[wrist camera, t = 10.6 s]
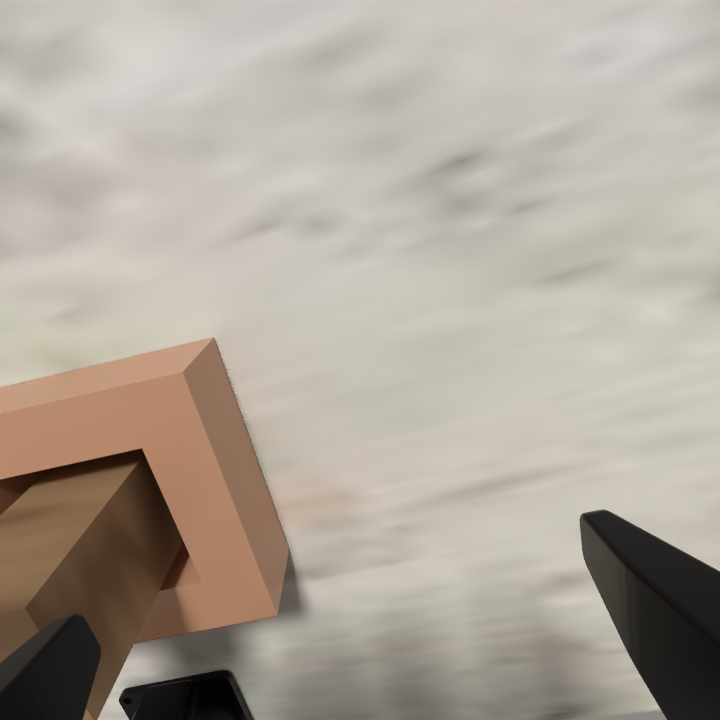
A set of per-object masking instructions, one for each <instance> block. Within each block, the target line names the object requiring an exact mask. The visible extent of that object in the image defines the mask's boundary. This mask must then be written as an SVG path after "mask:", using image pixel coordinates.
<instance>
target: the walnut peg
mask: <svg viewBox="0 0 720 720" xmlns="http://www.w3.org/2000/svg"><path fill="white" fill-rule="evenodd" d="M182 542H183V539H182V537H181V535H180V532H179V530H178V528H177V526H176V523H175V521H174V519H173V517H172V514H171V512H170V510H169V508H168V505H167V503H166V501H165V499H164V496H163V494H162V492H161V490H160V487H159V485H158V483H157V481H156V479H155V476H154V474H153V472H152V470H151V467H150V465H149V463H148V461H147V458H146V456H145V454H144V452H143V449H142V448H141V449H136V450H132V451H127V452H123V453H118V454H114V455H109V456H105V457H100V458H95V459H91V460H86V461H82V462H77V463H73V464H68V465H64V466H59V467H55V468H51V469H50V470H49V471H47V472H46V473H45V474H44V475H43V476H42V477H41V478H40V479H39V480H38V481H37V482H36V483H35V484H33V485H32V486H31V487H30V488H29V489H28V490H27V491H26V492H25V493H24V494H23V495H22V496H21V497H20V498H18V499H17V500H16V501H15V502H14V503H13V504H12V505H11V506H10V507H9V508H8V509H7V510H6V511H4V512H3V513H2V514H1V515H0V662H1V661H3V660H4V659H5V658H6V657H8V656H9V655H10V654H11V653H12V652H14V651H15V650H16V649H17V648H19V647H20V646H21V645H22V644H24V643H25V642H26V641H27V640H28V639H30V638H31V637H32V636H33V635H35V634H36V633H37V632H38V631H40V630H41V629H42V628H43V627H45V626H46V625H47V624H48V623H49V622H51V621H52V620H53V619H55V618H57V617H59V616H64V615H69V614H74V613H80V614H82V615H83V616H84V617H85V618H86V620H87V621H88V623H89V625H90V627H91V628H92V630H93V632H94V634H95V635H96V637H97V639H98V641H99V643H100V645H101V659H100V663H99V666H98V670H97V673H96V677H95V680H94V683H93V687H92V690H91V694H90V697H89V700H88V704H87V707H86V711H85V714H84V717H83V720H97V719H98V717H99V715H100V713H101V711H102V709H103V706H104V704H105V702H106V700H107V698H108V696H109V694H110V692H111V690H112V688H113V686H114V684H115V682H116V679H117V677H118V675H119V673H120V671H121V669H122V667H123V665H124V663H125V661H126V659H127V657H128V655H129V652H130V650H131V648H132V646H133V644H134V642H135V640H136V638H137V636H138V634H139V632H140V630H141V627H142V625H143V623H144V621H145V619H146V617H147V615H148V613H149V611H150V609H151V607H152V605H153V603H154V600H155V598H156V596H157V594H158V592H159V590H160V588H161V586H162V584H163V582H164V580H165V578H166V575H167V573H168V571H169V569H170V567H171V565H172V563H173V561H174V559H175V557H176V555H177V553H178V551H179V548H180V546H181V544H182Z"/></svg>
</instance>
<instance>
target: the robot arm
mask: <svg viewBox="0 0 720 720" xmlns="http://www.w3.org/2000/svg"><path fill="white" fill-rule="evenodd" d="M580 530H581V541H582V551H583V556H584V560H585V563H586V565H587V568H588V570H589V572H590V574H591V576H592V578H593V580H594V582H595V584H596V587H597V589H598V591H599V593H600V595H601V597H602V599H603V601H604V604H605V606H606V608H607V610H608V612H609V614H610V616H611V618H612V620H613V623H614V625H615V627H616V629H617V631H618V633H619V635H620V637H621V640H622V642H623V644H624V646H625V648H626V650H627V652H628V654H629V656H630V658H631V659H632V661H633V663H634V665H635V666H636V668H637V670H638V672H639V674H640V675H641V677H642V679H643V680H644V682H645V684H646V685H647V687H648V689H649V690H650V692H651V694H652V695H653V697H654V698H655V700H656V702H657V703H658V705H659V707H660V708H661V710H662V712H663V713H664V715H665V717H666V718H667V720H720V571H718V570H716V569H715V568H713V567H711V566H709V565H707V564H705V563H703V562H702V561H700V560H698V559H696V558H694V557H692V556H691V555H689V554H687V553H685V552H683V551H681V550H680V549H678V548H676V547H674V546H672V545H670V544H668V543H667V542H665V541H663V540H661V539H659V538H657V537H656V536H654V535H652V534H650V533H648V532H646V531H645V530H643V529H641V528H639V527H637V526H635V525H633V524H632V523H630V522H628V521H626V520H624V519H622V518H621V517H619V516H617V515H615V514H613V513H611V512H610V511H607V510H597V511H592V512H587V513H583V514H582V515H581V516H580ZM100 659H101V645H100V643H99V641H98V639H97V637H96V635H95V634H94V632H93V630H92V628H91V627H90V625H89V623H88V621H87V620H86V618H85V617H84V616H83V615H82V614H80V613H74V614H69V615H64V616H59V617H57V618H55V619H53V620H52V621H51V622H49V623H48V624H47V625H46V626H45V627H43V628H42V629H41V630H40V631H38V632H37V633H36V634H35V635H33V636H32V637H31V638H30V639H28V640H27V641H26V642H25V643H24V644H22V645H21V646H20V647H19V648H17V649H16V650H15V651H14V652H12V653H11V654H10V655H9V656H8V657H6V658H5V659H4V660H3V661H1V662H0V720H83V717H84V714H85V711H86V707H87V704H88V700H89V697H90V694H91V690H92V687H93V683H94V680H95V677H96V673H97V670H98V666H99V663H100ZM119 703H120V704H121V706H122V708H123V709H124V711H125V713H126V715H127V716H128V718H129V720H252V719H251V717H250V714H249V712H248V710H247V708H246V706H245V704H244V701H243V699H242V697H241V695H240V693H239V690H238V688H237V686H236V684H235V682H234V680H233V677H232V675H231V674H230V673H229V672H227V671H217V672H212V673H206V674H201V675H196V676H190V677H185V678H179V679H174V680H168V681H163V682H158V683H152V684H147V685H141V686H136V687H131V688H126V689H124V690H123V691H122V694H121V696H120V698H119Z"/></svg>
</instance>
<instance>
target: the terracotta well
mask: <svg viewBox="0 0 720 720" xmlns="http://www.w3.org/2000/svg"><path fill="white" fill-rule="evenodd" d="M141 448H142V449H143V452H144V454H145V456H146V458H147V461H148V463H149V465H150V467H151V470H152V472H153V474H154V476H155V479H156V481H157V483H158V485H159V487H160V490H161V492H162V494H163V496H164V499H165V501H166V503H167V505H168V508H169V510H170V512H171V514H172V517H173V519H174V521H175V523H176V526H177V528H178V530H179V532H180V535H181V537H182V539H183V542H182V544H181V546H180V548H179V551H178V553H177V555H176V557H175V559H174V561H173V563H172V565H171V567H170V569H169V571H168V573H167V575H166V578H165V580H164V582H163V584H162V586H161V588H160V590H159V592H158V594H157V596H156V598H155V600H154V603H153V605H152V607H151V609H150V611H149V613H148V615H147V617H146V619H145V621H144V623H143V625H142V627H141V630H140V632H139V634H138V636H137V638H136V640H135V642H134V643H139V642H144V641H149V640H155V639H160V638H165V637H170V636H176V635H181V634H186V633H191V632H197V631H202V630H207V629H212V628H217V627H223V626H228V625H233V624H238V623H244V622H249V621H254V620H259V619H265V618H270V617H275V616H278V611H279V605H280V599H281V594H282V588H283V582H284V577H285V571H286V566H287V560H288V554H289V547H288V544H287V541H286V539H285V536H284V533H283V530H282V527H281V524H280V522H279V519H278V516H277V513H276V510H275V508H274V505H273V502H272V499H271V496H270V494H269V491H268V488H267V485H266V482H265V480H264V477H263V474H262V471H261V468H260V465H259V463H258V460H257V457H256V454H255V451H254V449H253V446H252V443H251V440H250V437H249V435H248V432H247V429H246V426H245V423H244V420H243V418H242V415H241V412H240V409H239V406H238V404H237V401H236V398H235V395H234V392H233V390H232V387H231V384H230V381H229V378H228V376H227V373H226V370H225V367H224V364H223V361H222V359H221V356H220V353H219V350H218V347H217V345H216V342H215V339H214V338H210V339H206V340H202V341H198V342H193V343H189V344H185V345H180V346H176V347H172V348H168V349H163V350H159V351H155V352H151V353H146V354H142V355H138V356H133V357H129V358H125V359H121V360H116V361H112V362H108V363H104V364H99V365H95V366H91V367H86V368H82V369H78V370H74V371H69V372H65V373H61V374H57V375H52V376H48V377H44V378H39V379H35V380H31V381H27V382H22V383H18V384H14V385H10V386H5V387H1V388H0V515H1V514H2V513H3V512H4V511H6V510H7V509H8V508H9V507H10V506H11V505H12V504H13V503H14V502H15V501H16V500H17V499H18V498H20V497H21V496H22V495H23V494H24V493H25V492H26V491H27V490H28V489H29V488H30V487H31V486H32V485H33V484H35V483H36V482H37V481H38V480H39V479H40V478H41V477H42V476H43V475H44V474H45V473H46V472H47V471H49V470H50V469H51V468H55V467H59V466H64V465H68V464H73V463H77V462H82V461H86V460H91V459H95V458H100V457H105V456H109V455H114V454H118V453H123V452H127V451H132V450H136V449H141Z"/></svg>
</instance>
